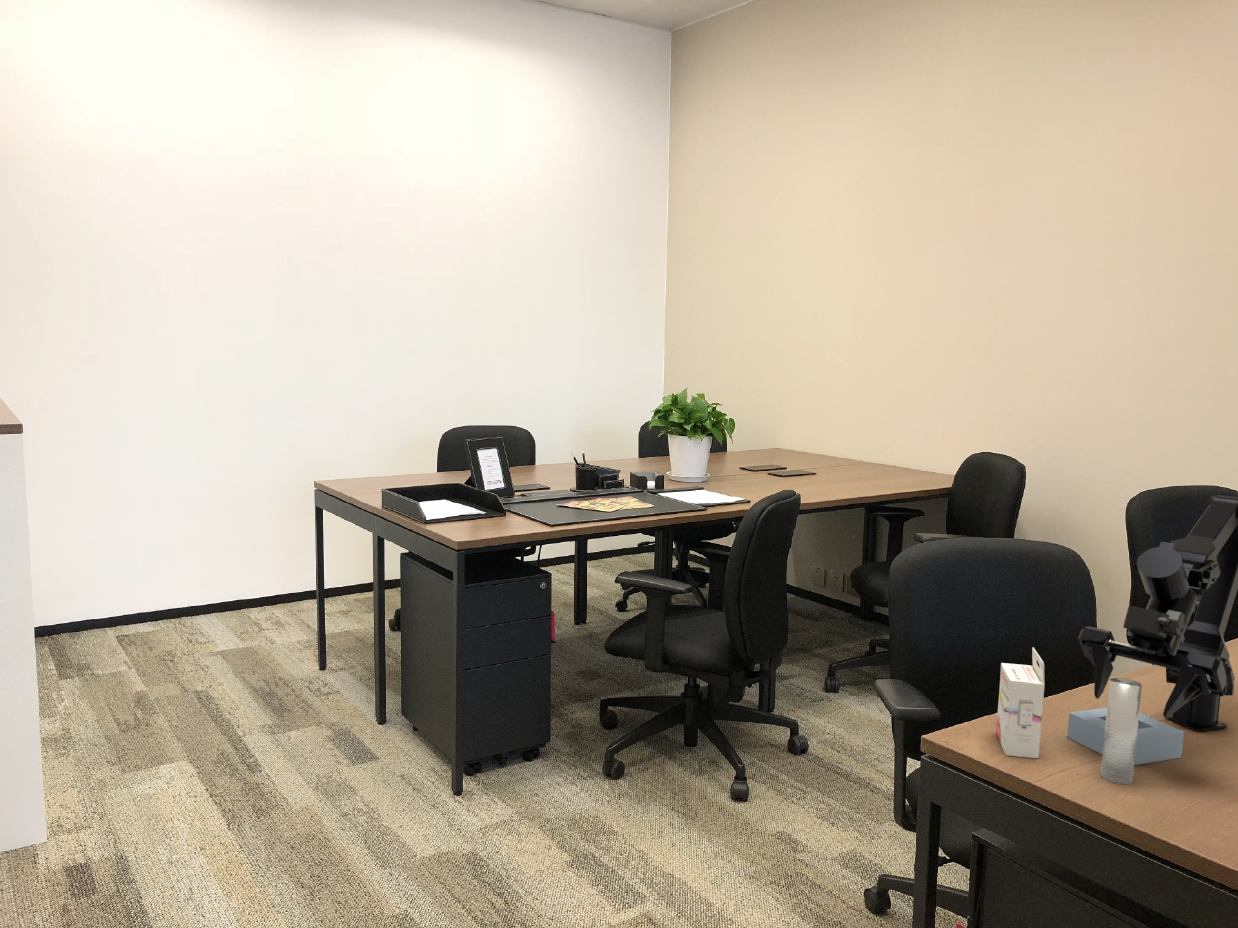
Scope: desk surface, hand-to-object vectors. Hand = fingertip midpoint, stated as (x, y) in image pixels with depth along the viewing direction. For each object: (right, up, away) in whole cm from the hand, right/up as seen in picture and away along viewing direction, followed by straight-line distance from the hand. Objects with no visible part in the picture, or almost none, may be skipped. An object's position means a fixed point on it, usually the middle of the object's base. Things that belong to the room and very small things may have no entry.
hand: (1129, 706), depth 136 cm
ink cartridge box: (-12, -9, +10) cm, 18 cm away
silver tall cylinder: (-2, -10, 0) cm, 10 cm away
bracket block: (+5, -9, +10) cm, 14 cm away
